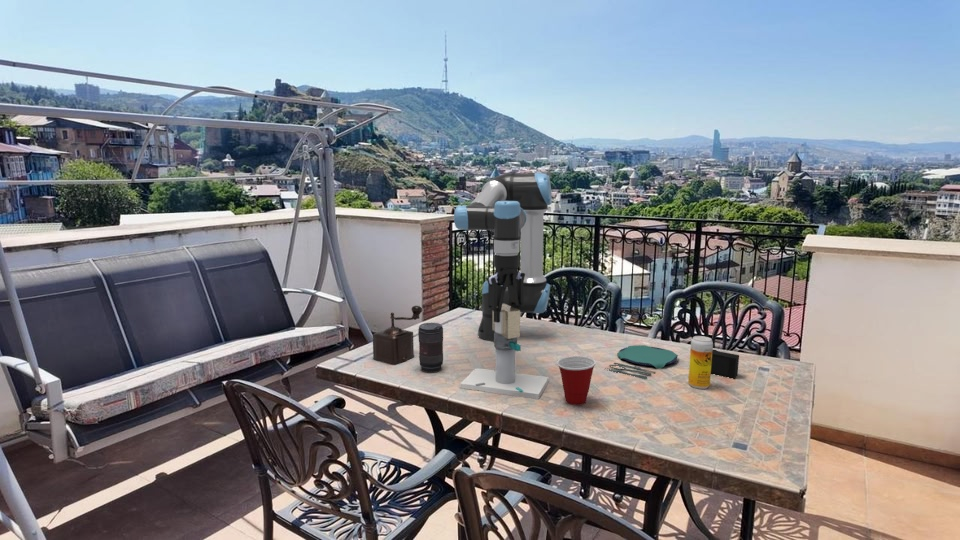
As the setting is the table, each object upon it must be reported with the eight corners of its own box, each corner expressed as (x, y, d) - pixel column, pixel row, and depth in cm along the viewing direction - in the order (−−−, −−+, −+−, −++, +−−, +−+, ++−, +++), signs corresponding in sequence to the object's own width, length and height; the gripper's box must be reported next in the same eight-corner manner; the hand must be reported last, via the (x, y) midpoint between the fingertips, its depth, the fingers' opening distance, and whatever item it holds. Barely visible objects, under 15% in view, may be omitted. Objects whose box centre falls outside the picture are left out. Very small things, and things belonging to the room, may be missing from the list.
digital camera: (738, 374, 169) (740, 353, 168) (734, 379, 165) (736, 358, 164) (705, 367, 176) (706, 347, 175) (700, 372, 172) (702, 351, 170)
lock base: (475, 372, 170) (475, 337, 168) (548, 381, 163) (549, 344, 161) (460, 388, 157) (459, 350, 155) (538, 399, 149) (539, 359, 147)
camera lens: (414, 371, 172) (413, 326, 169) (427, 363, 179) (427, 321, 176) (435, 375, 168) (434, 330, 165) (448, 367, 175) (447, 324, 172)
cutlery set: (685, 358, 185) (686, 352, 185) (651, 383, 163) (651, 376, 163) (632, 347, 198) (632, 341, 198) (594, 369, 176) (594, 363, 175)
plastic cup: (553, 393, 154) (554, 354, 152) (590, 393, 153) (592, 354, 151) (557, 409, 143) (559, 367, 141) (597, 409, 143) (599, 367, 141)
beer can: (700, 391, 156) (703, 342, 153) (683, 384, 161) (687, 337, 158) (714, 387, 158) (717, 339, 156) (697, 380, 164) (700, 334, 161)
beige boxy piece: (487, 343, 161) (488, 305, 159) (507, 340, 164) (508, 303, 162) (508, 355, 149) (508, 314, 147) (529, 352, 152) (530, 312, 150)
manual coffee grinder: (395, 365, 176) (394, 314, 173) (372, 359, 183) (370, 309, 180) (425, 353, 189) (424, 305, 186) (403, 348, 195) (402, 301, 192)
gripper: (492, 258, 145) (492, 339, 148) (537, 252, 156) (535, 328, 160) (475, 255, 150) (474, 333, 154) (519, 250, 162) (518, 323, 166)
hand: (505, 330), depth 157 cm, fingers closed on beige boxy piece, 5 cm apart
